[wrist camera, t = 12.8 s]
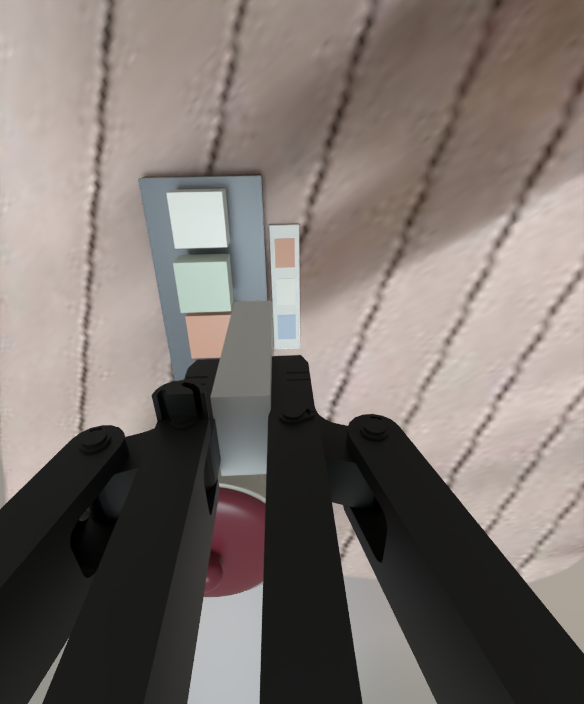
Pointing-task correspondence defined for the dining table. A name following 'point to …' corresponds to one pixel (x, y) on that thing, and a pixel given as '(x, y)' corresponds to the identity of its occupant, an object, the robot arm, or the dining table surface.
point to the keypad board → (242, 248)
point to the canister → (237, 536)
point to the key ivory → (199, 218)
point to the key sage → (204, 283)
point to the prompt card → (285, 285)
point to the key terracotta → (207, 333)
